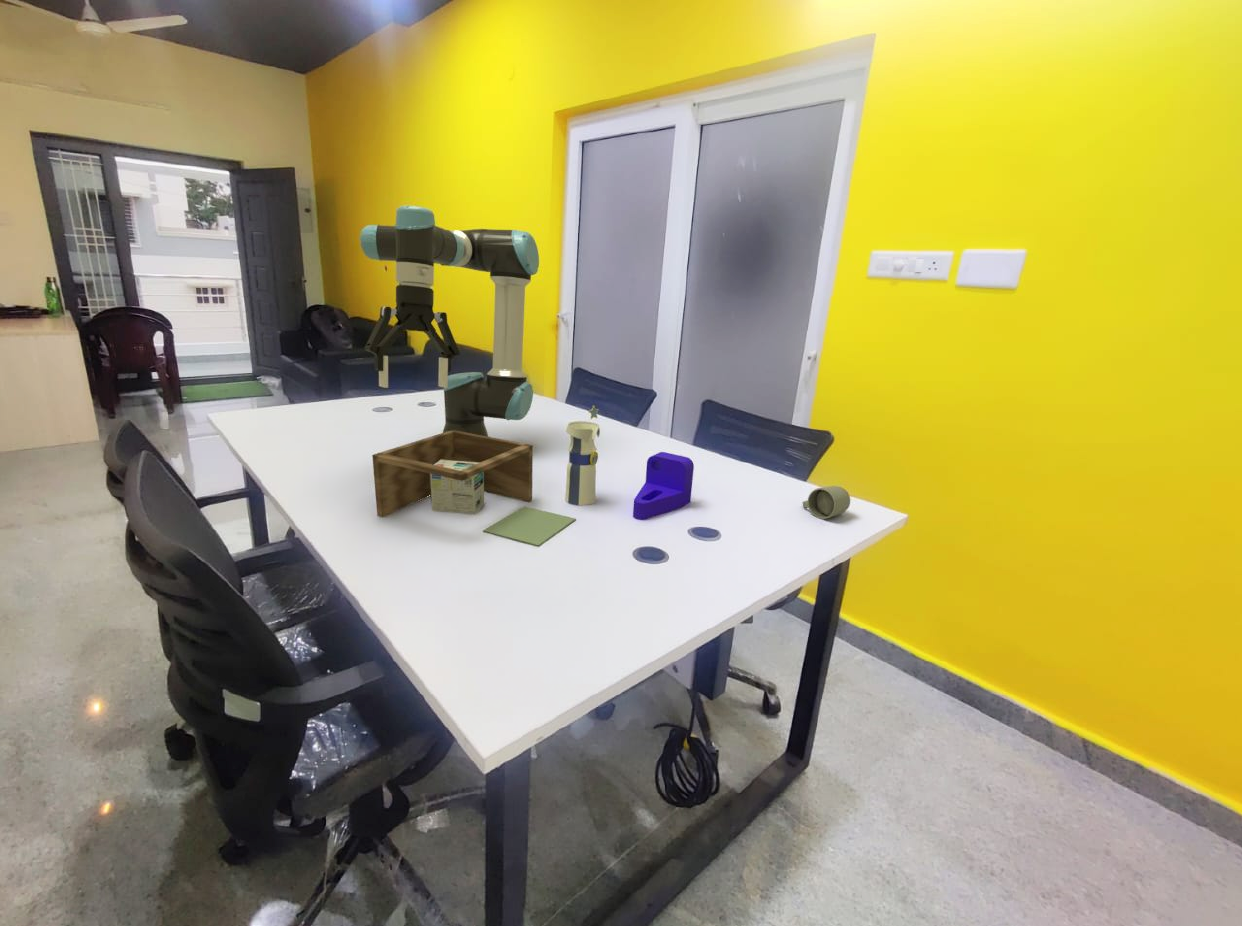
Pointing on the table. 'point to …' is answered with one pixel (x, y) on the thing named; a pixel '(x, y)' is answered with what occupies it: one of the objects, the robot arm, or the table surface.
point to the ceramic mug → (827, 501)
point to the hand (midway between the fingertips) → (414, 387)
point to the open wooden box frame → (411, 465)
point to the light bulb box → (457, 490)
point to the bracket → (664, 486)
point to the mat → (530, 526)
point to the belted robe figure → (582, 462)
